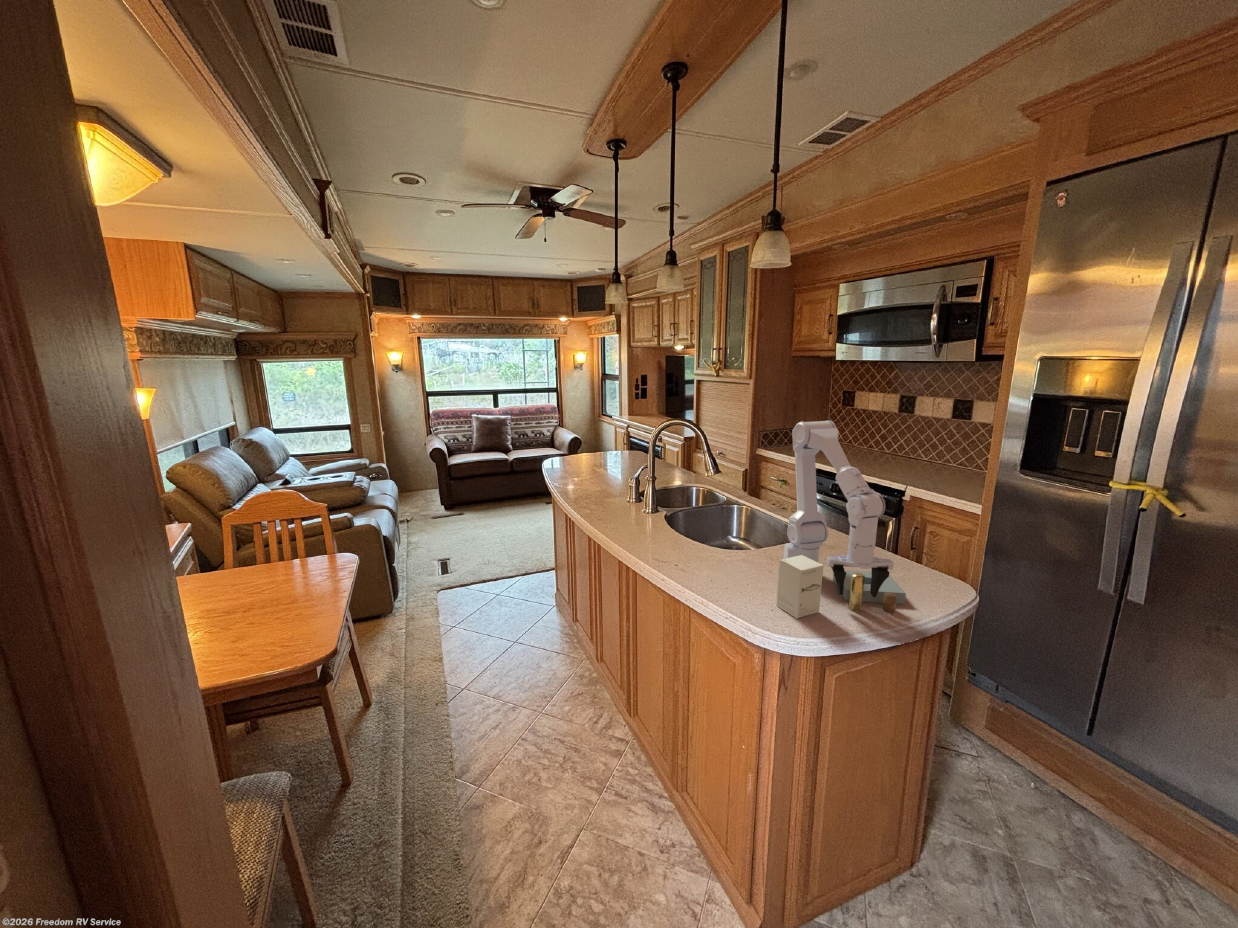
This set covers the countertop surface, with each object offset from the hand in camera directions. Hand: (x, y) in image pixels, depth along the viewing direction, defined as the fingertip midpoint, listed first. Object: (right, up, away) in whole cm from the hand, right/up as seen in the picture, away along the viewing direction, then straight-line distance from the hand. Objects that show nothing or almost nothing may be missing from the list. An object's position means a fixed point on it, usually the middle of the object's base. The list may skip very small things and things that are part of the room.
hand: (856, 594), depth 119 cm
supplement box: (-14, -4, +1) cm, 15 cm away
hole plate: (+7, -2, +10) cm, 12 cm away
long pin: (0, -4, +1) cm, 4 cm away
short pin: (+8, -4, 0) cm, 9 cm away
